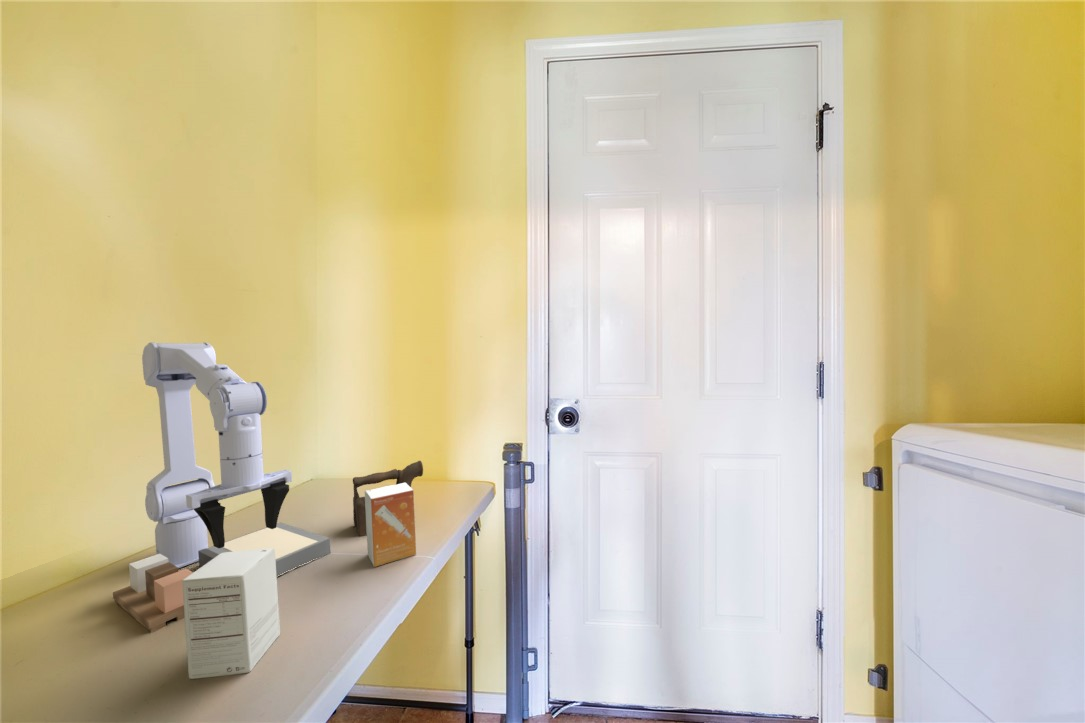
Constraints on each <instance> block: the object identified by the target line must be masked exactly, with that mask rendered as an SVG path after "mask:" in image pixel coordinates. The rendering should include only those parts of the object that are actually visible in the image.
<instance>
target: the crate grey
mask: <svg viewBox="0 0 1085 723" xmlns="http://www.w3.org/2000/svg"><path fill="white" fill-rule="evenodd" d="M168 562H169V561H168V558H167V557H165V556H163V555H161V554H157V555H156V554H155V555H151V556H149V557H146V558H143V559H139V560H137V561H133V562H130V563H128V568H129V570H128V571H129V572H128V574H129V586H130V587H131V588H132V589H134V590H135V591H136V592H138V593H140V592H143V591H145V590H146V578H145V570H148V569H151V568H154V567H156V566H159V565H162V564H165V563H168Z"/></svg>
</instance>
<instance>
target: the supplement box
mask: <svg viewBox="0 0 1085 723" xmlns="http://www.w3.org/2000/svg"><path fill="white" fill-rule="evenodd" d="M277 579H278V577H277V576H276V560H275V549H272V548H271V549H256V550H246V551H235V552H224V553H221V554H219V555H218V556H216V557H215V558H214V559H212V560H211V561H209V562H208V563H207V564H205V565H204V566H202V567H199V568H198V569H196V570H195V571H193V573H192V574H191V575H189V576H188V577H186V578H185V579H184V580H182V585H183V600H184V616H185V618H184V628H185V640H186V641H185V642H186V643H185V645H186V655H187V656H186V657H187V658H186V659H187V671H188V673H187V674H188V679H192V680H194V679H204V678H212V677H214V678H215V677H222V676H231V675H240V674H247V673H250V672H251V671H252V670H253V668H254V667H255V666H256V664H258V662H259V661H260V659H261V658H262V657H263V656H264V655H265V654H266V653H267V651H268V650H269V648H270V647H271V646H272V645H273V643H274V642H275V641H276V640H277V638H278V637H279V636H280V635H281V627H280V625H281V624H280V623H281V622H280V610H279V594H278V581H277Z"/></svg>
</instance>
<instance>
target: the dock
mask: <svg viewBox="0 0 1085 723" xmlns="http://www.w3.org/2000/svg"><path fill="white" fill-rule="evenodd" d="M271 548H272V549H275V560H276V576H278V575H280V574H282V573H284V572H286V571H288V570H291V569H293V568H295V567H298V566H299V565H302V564H304V563H307V562H309V561H311V560H313V559H316V558H319V557H321V558H323V557H325V556H327V555H330V554H331V538H330V537H327V536H324V535H321V534H318V533H314V532H311V531H309V530H306V529H302V528H299V527H296V526H293V525H291V524H290V525H289V524H287V523H283V522H277V525H276V528H274V529H270V528H267V527H266V526H265V527H264V528H263V527H262V528H260V529H258V530H255V531H252V532H249V533H246V534H244V535H241V536H238V537H235V538H232V539H229V540H227V541H226V540H225V545H224V547H222V548H217V547H215V546H214V545H213V546H210V547H209V546H208V548H205V549H202V550H199V551H198V555H199V561H198V567H199V568H201V567H202V566H204V565H205V564H207V563H208V562H209V561H211V560H212V559H214V558H215V557H216V556H218V555H219V554H221V553H224V552H235V551H246V550H256V549H271ZM326 554H327V555H326ZM324 555H325V556H324ZM322 556H323V557H322ZM319 559H320V558H319ZM316 560H317V559H316Z"/></svg>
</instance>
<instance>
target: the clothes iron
mask: <svg viewBox="0 0 1085 723" xmlns="http://www.w3.org/2000/svg"><path fill="white" fill-rule="evenodd" d="M423 475H424V466H423V462H422V461H421V460H417V461H416V462H412V463H410V464H409V465H406V466H405V467H404V468H403V469H398V470H397V468H394V469H391V470H388V471H383V472H381V471H380V472H375V473H374V472H373V473H372V474H367V475H365V476H355V477H353V478H352V484H353V498H352V506H353V510H352V511H353V512H352V513H353V518H352V519H353V528H354V529H355V528H356V529H357V530H356V531H357V533H358V535H359V537H360V536H362V537H363V536H367V532H366V508H365V496H360V495H359V493H358V488H359V487H362V486H365V485H375V484H379V483H382V482H385V481H389V480H396V482H395V485H396V484H401V483H406V484H407V485H409V486H410V487H411V488H412V484H413V483H412V482H413V481H414V479H416V478H418V477H422V476H423Z"/></svg>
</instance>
